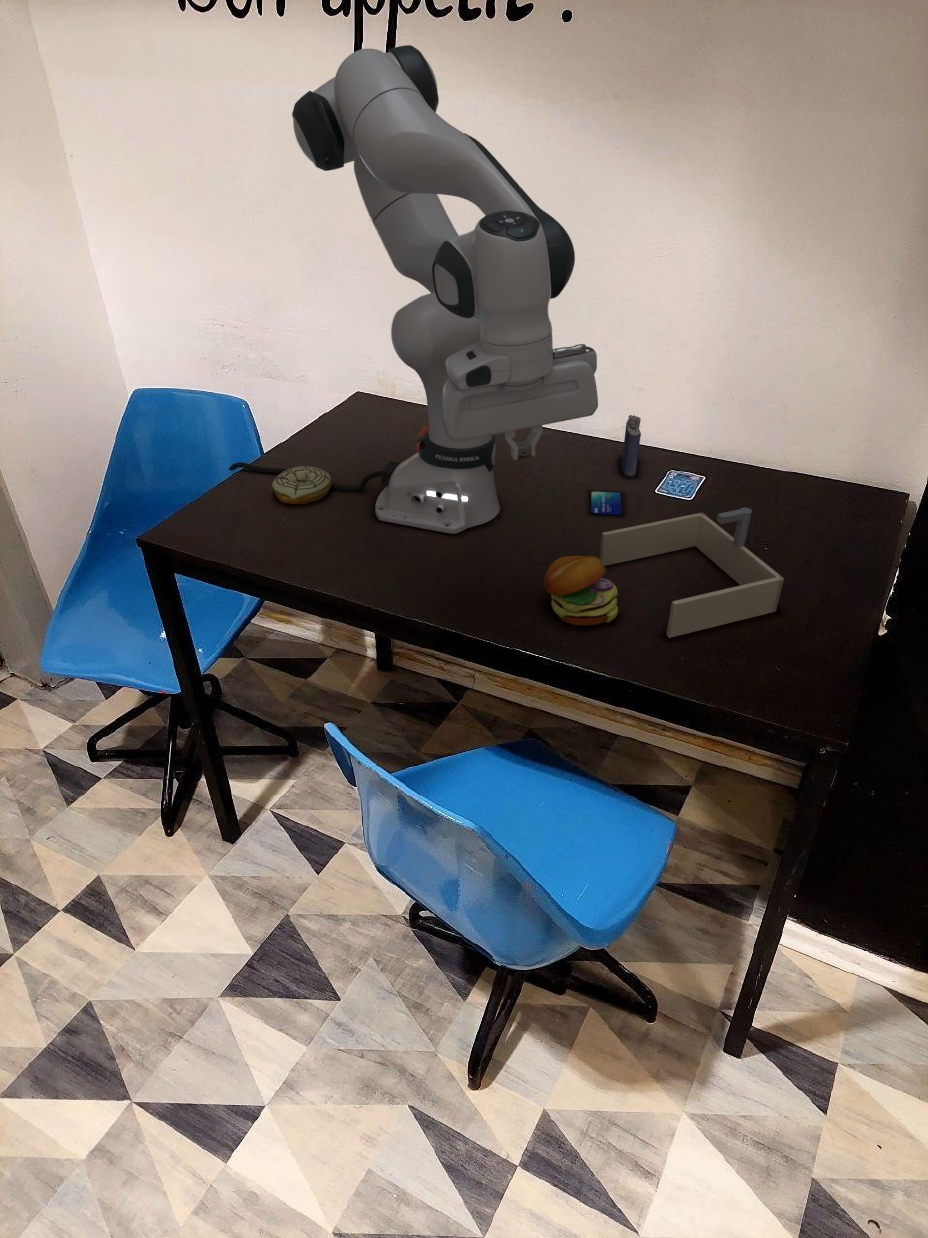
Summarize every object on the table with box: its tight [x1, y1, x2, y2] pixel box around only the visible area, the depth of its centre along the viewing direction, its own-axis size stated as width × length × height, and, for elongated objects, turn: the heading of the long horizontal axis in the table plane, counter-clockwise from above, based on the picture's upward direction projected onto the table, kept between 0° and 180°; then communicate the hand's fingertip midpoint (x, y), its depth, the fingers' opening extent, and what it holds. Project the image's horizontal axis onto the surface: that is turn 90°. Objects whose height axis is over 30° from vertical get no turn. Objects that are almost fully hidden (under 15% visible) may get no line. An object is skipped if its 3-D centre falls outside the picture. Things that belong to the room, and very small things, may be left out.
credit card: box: [590, 490, 622, 516], centre depth 162 cm, size 8×5×1 cm, turn 173°
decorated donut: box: [271, 465, 332, 505], centre depth 164 cm, size 10×11×4 cm
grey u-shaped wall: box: [598, 507, 785, 639], centre depth 136 cm, size 19×22×12 cm
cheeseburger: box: [544, 555, 619, 626], centre depth 132 cm, size 10×11×10 cm
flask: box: [620, 414, 642, 478], centre depth 171 cm, size 9×3×11 cm, turn 172°
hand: (523, 456), depth 118 cm, fingers closed
